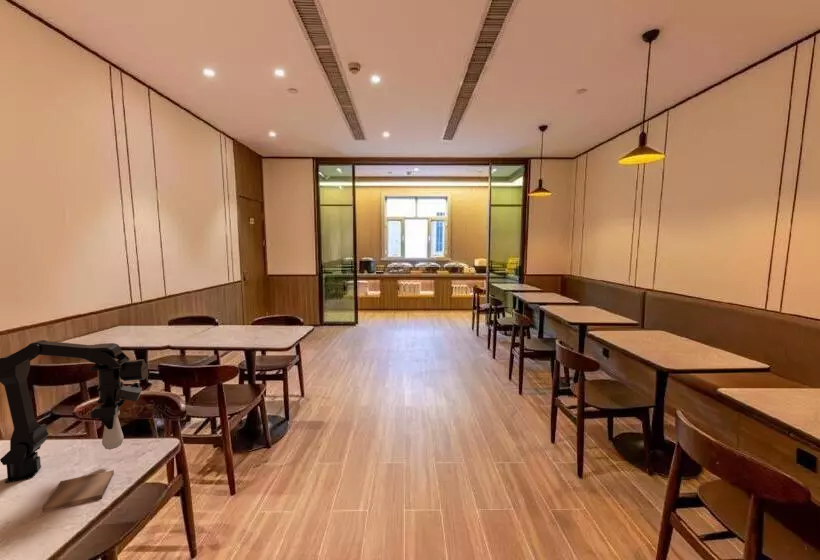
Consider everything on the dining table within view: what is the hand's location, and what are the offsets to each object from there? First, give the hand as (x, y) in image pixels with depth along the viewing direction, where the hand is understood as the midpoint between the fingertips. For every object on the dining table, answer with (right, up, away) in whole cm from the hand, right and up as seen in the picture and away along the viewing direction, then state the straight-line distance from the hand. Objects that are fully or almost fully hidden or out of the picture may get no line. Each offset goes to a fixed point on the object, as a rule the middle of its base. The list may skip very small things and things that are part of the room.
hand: (112, 426), depth 123 cm
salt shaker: (0, -7, +1) cm, 7 cm away
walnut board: (+2, -14, -14) cm, 20 cm away
